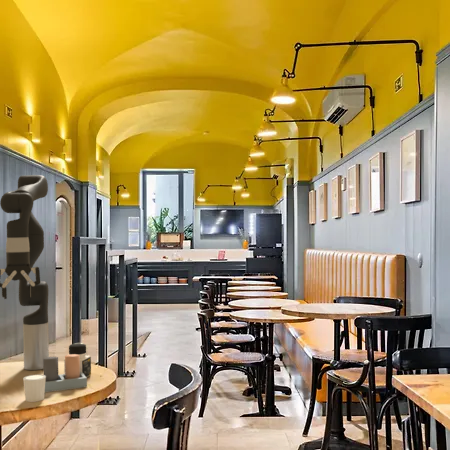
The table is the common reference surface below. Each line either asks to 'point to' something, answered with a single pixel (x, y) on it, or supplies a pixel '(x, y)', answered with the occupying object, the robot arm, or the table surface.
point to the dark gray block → (50, 368)
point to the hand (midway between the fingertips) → (18, 297)
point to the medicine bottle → (81, 358)
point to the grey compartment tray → (68, 376)
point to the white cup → (34, 387)
